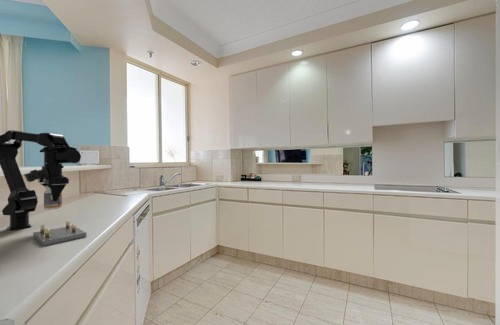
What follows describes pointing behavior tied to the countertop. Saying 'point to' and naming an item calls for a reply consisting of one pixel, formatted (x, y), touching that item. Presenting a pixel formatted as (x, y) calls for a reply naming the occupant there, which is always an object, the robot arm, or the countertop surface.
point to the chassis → (58, 234)
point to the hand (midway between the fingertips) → (53, 200)
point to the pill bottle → (51, 200)
